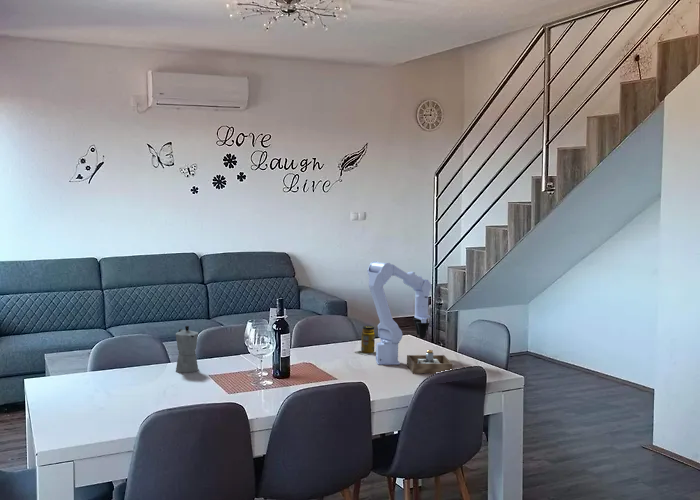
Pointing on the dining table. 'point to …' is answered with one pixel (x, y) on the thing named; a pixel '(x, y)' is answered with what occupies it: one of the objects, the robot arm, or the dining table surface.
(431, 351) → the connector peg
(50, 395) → the dining table surface
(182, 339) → the coffeepot
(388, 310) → the robot arm
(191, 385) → the dining table surface
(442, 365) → the walled box
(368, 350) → the condiment
